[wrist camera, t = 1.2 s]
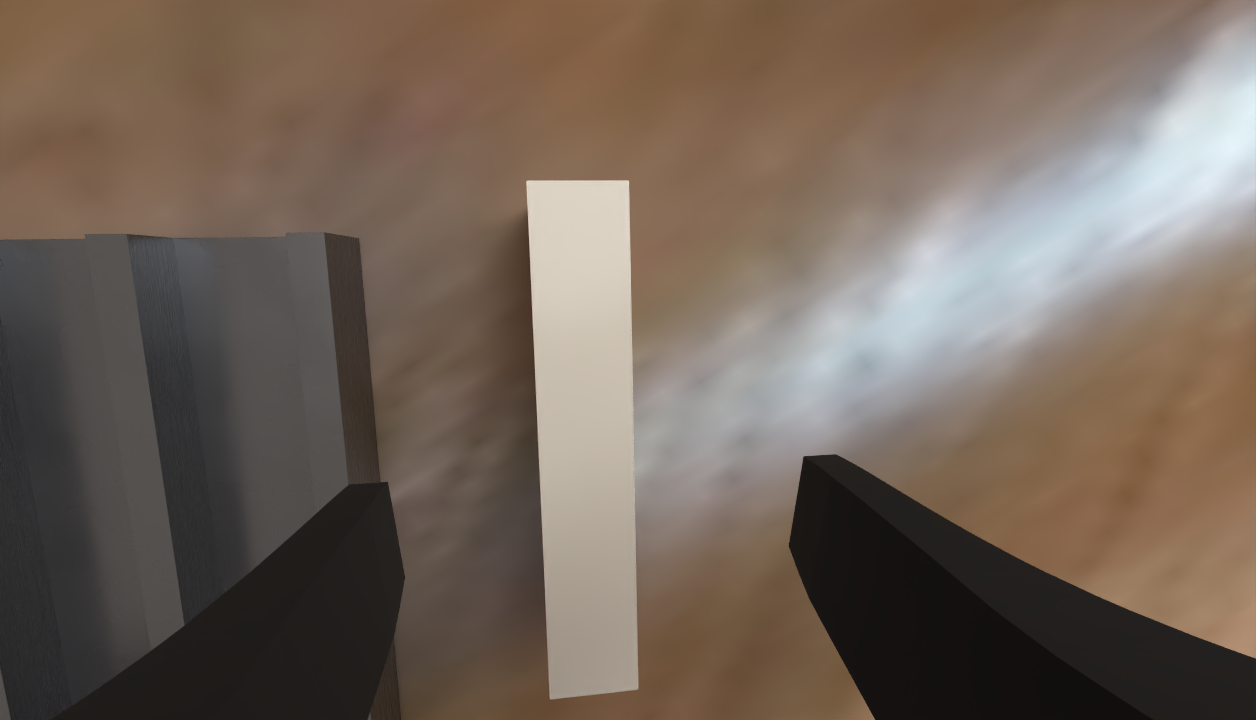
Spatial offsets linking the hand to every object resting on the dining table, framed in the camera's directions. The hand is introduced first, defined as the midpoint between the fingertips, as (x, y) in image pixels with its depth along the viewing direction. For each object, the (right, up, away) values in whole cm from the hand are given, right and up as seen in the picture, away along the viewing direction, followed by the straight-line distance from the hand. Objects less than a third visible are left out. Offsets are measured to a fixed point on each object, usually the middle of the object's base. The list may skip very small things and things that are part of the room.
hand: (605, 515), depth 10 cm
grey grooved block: (-16, -2, +9) cm, 19 cm away
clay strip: (-1, +1, +11) cm, 11 cm away
